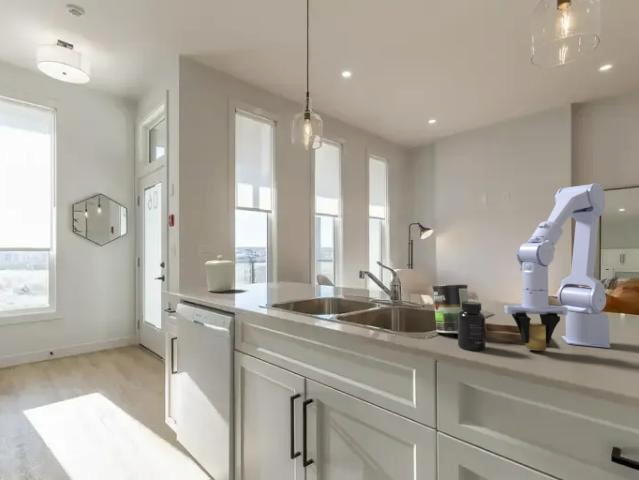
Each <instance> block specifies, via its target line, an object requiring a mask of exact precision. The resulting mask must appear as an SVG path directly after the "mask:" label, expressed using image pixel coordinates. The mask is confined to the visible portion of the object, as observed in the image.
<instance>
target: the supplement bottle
mask: <svg viewBox="0 0 639 480" xmlns="http://www.w3.org/2000/svg"><path fill="white" fill-rule="evenodd" d="M461 309H462V310H463V311H462V312H460V313H459V314H458V333H457V345H458V347H459V348H460V349H463V350H466V351H472V352H481V351H484V350H485V349H486V348H487V347H486V346H487V345H486V344H487V341H486V323H487V322H486V316H485V314H484V313H482V312H481V311H482V303H481V302H479V301H469V300H468V301H465V302H462V307H461Z"/></svg>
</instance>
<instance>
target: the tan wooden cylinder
mask: <svg viewBox="0 0 639 480" xmlns="http://www.w3.org/2000/svg"><path fill="white" fill-rule="evenodd" d="M524 346H525V348H526V349H529V350H530V351H531V350H532V351H539V352H541V351H542V352H543V351H546V350H547V347H546V325H544V324H541V322H540V323H539V322H530V324H529V343H525V345H524Z"/></svg>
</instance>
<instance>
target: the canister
mask: <svg viewBox="0 0 639 480" xmlns="http://www.w3.org/2000/svg"><path fill="white" fill-rule="evenodd" d="M216 259H217V260H215V259H214V260H208V261H206V262H205V263H203V265H204V267H205V274H206V275H205V278H206V285H207V289H208V291H210V292H212V293H215V292H216V293H222V292H223V293H224V292H229V291H231V290H232V287H233V281H234V274H235V265H236V262H234V260H227V259H224V256H223V255H220V254H219V255H217V256H216Z"/></svg>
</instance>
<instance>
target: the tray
mask: <svg viewBox="0 0 639 480" xmlns="http://www.w3.org/2000/svg"><path fill="white" fill-rule="evenodd" d="M486 342H495V343H506V344H515V345H524V346H525V343H524V342H523V341H522V339H521V335H520V331H519V328H518V326H517V325H515V324H514V325H513V324H512V325H510V324H499V323H488V322H486ZM550 345H551V343H550V344H547V343H546V348H550Z"/></svg>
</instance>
